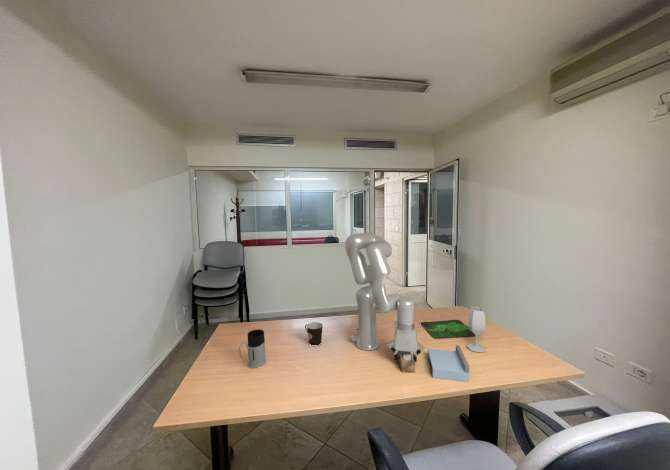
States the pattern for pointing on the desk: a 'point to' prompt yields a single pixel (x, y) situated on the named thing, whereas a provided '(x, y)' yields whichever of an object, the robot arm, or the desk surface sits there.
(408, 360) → the brown block with knobs
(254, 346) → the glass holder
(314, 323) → the coffee mug
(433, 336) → the mouse mat
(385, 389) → the desk surface
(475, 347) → the wineglass
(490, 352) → the desk surface
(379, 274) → the robot arm
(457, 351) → the shelf
